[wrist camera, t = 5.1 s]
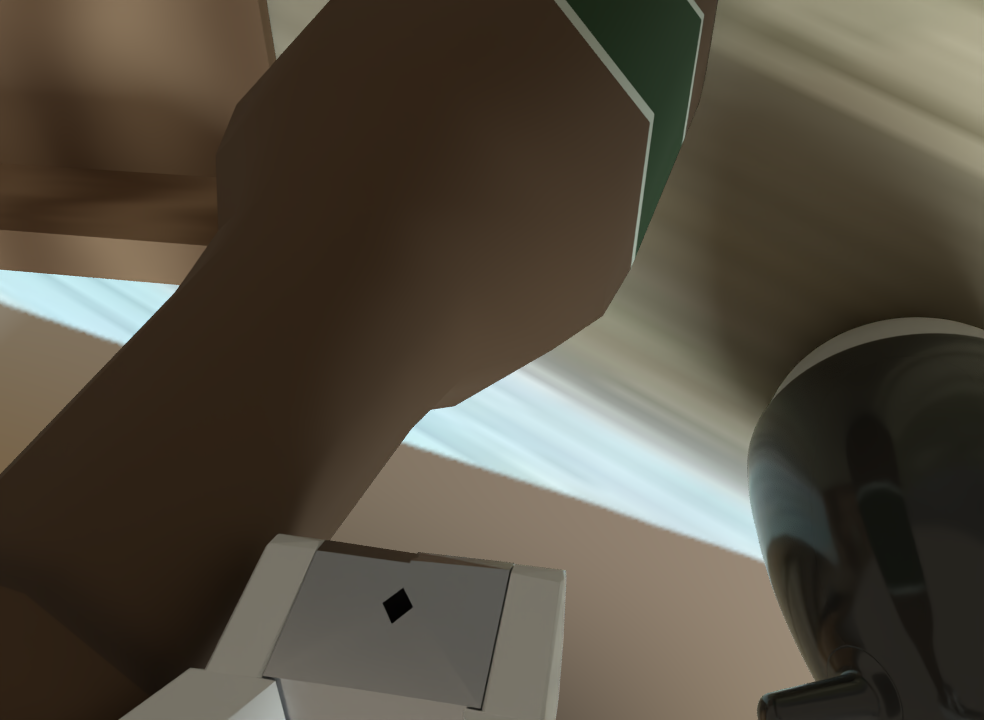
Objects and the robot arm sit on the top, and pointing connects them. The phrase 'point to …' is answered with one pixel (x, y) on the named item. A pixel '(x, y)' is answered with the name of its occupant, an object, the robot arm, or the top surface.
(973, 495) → the dark grey oval piece
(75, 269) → the u rest
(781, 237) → the top surface
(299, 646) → the robot arm
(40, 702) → the beer bottle
